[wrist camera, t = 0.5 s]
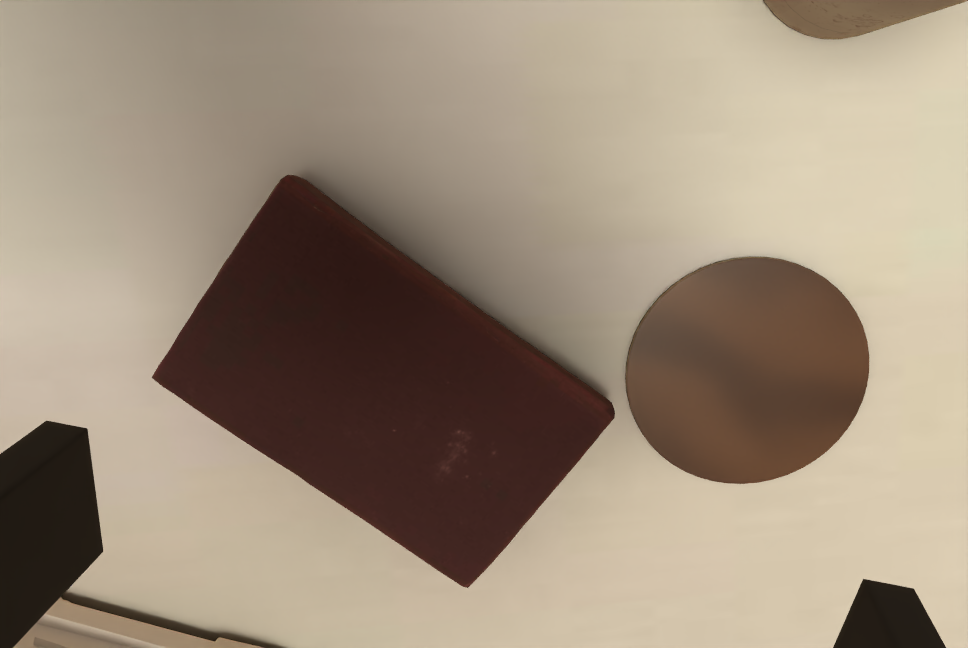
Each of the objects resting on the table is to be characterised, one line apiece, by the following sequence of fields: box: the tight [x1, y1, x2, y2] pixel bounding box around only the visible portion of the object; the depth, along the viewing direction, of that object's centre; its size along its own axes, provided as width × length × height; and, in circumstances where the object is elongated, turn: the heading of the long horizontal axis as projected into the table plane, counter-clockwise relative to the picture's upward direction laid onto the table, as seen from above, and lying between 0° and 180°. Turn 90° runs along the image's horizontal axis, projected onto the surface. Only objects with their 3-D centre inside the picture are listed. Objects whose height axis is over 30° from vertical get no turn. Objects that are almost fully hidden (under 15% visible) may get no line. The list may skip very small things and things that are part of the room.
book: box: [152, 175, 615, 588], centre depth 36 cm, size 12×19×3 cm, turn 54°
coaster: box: [626, 257, 869, 484], centre depth 36 cm, size 12×12×1 cm
